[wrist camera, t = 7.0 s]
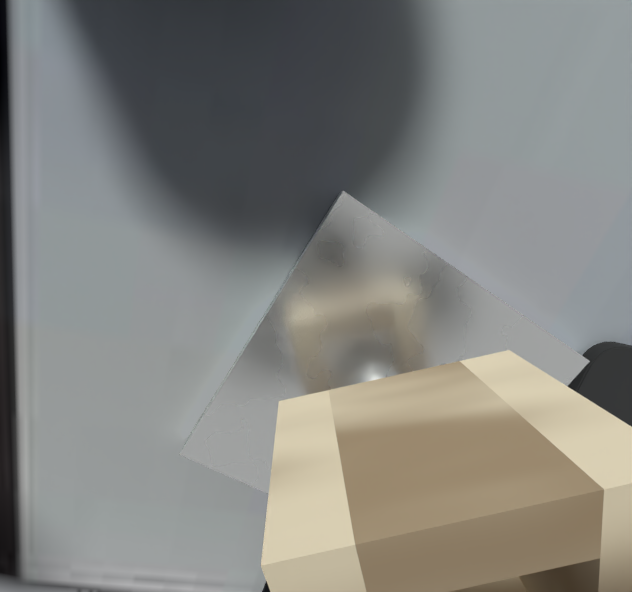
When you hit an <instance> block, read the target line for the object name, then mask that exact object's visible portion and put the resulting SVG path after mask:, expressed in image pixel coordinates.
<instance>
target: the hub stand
mask: <svg viewBox="0 0 632 592" xmlns="http://www.w3.org/2000/svg"><path fill="white" fill-rule="evenodd" d="M507 350H510V351H512V352H513V353H515V354H516V355H518V356H519V357H521V358H523V359H524V360H526V361H527V362H529V363H531V364H532V365H534V366H535V367H537V368H539V369H540V370H542V371H543V372H545V373H547V374H548V375H550V376H551V377H553V378H555V379H556V380H558V381H559V382H561V383H563V384H564V385H566V386H568V385H569V384H570V383H571V382H572V380H573V379H574V378H575V377H576V376H577V375H578V374H579V373H580V372H581V371H582V369H583V368H584V367H585V366H586V365H587V364H588V363H589V362H590V361H589V360H588V359H586V358H585V357H583V356H582V355H580V354H579V353H577V352H576V351H575V350H573V349H572V348H570V347H569V346H567V345H566V344H564V343H563V342H562V341H560V340H559V339H557V338H556V337H554V336H553V335H551V334H550V333H548V332H547V331H546V330H544V329H543V328H541V327H540V326H538V325H537V324H535V323H534V322H533V321H531V320H530V319H528V318H527V317H525V316H524V315H522V314H521V313H520V312H518V311H517V310H515V309H514V308H512V307H511V306H509V305H508V304H507V303H505V302H504V301H502V300H501V299H499V298H498V297H496V296H495V295H494V294H492V293H491V292H489V291H488V290H486V289H485V288H483V287H482V286H480V285H479V284H478V283H476V282H475V281H473V280H472V279H470V278H469V277H467V276H466V275H465V274H463V273H462V272H460V271H459V270H457V269H456V268H454V267H453V266H452V265H450V264H449V263H447V262H446V261H444V260H443V259H441V258H440V257H439V256H437V255H436V254H434V253H433V252H431V251H430V250H428V249H427V248H425V247H424V246H423V245H421V244H420V243H418V242H417V241H415V240H414V239H412V238H411V237H410V236H408V235H407V234H405V233H404V232H402V231H401V230H399V229H398V228H397V227H395V226H394V225H392V224H391V223H389V222H388V221H386V220H385V219H384V218H382V217H381V216H379V215H378V214H376V213H375V212H373V211H372V210H371V209H369V208H368V207H366V206H365V205H363V204H362V203H360V202H359V201H357V200H356V199H355V198H353V197H352V196H350V195H349V194H347V193H346V192H344V191H342V192H340V193H339V195H338V196H337V198H336V199H335V201H334V203H333V204H332V206H331V207H330V209H329V211H328V212H327V214H326V216H325V217H324V219H323V220H322V222H321V224H320V225H319V227H318V228H317V230H316V232H315V233H314V235H313V237H312V238H311V240H310V241H309V243H308V245H307V246H306V248H305V249H304V251H303V253H302V254H301V256H300V258H299V259H298V261H297V262H296V264H295V266H294V267H293V269H292V270H291V272H290V274H289V275H288V277H287V279H286V280H285V282H284V283H283V285H282V287H281V288H280V290H279V291H278V293H277V295H276V296H275V298H274V300H273V301H272V303H271V304H270V306H269V308H268V309H267V311H266V313H265V314H264V316H263V317H262V319H261V321H260V322H259V324H258V325H257V327H256V329H255V330H254V332H253V334H252V335H251V337H250V338H249V340H248V342H247V343H246V345H245V346H244V348H243V350H242V351H241V353H240V355H239V356H238V358H237V359H236V361H235V363H234V364H233V366H232V367H231V369H230V371H229V372H228V374H227V376H226V377H225V379H224V380H223V382H222V384H221V385H220V387H219V388H218V390H217V392H216V393H215V395H214V397H213V398H212V400H211V401H210V403H209V405H208V406H207V408H206V409H205V411H204V413H203V414H202V416H201V418H200V419H199V421H198V422H197V424H196V426H195V427H194V429H193V430H192V432H191V434H190V435H189V437H188V439H187V441H186V443H185V445H184V447H183V449H182V451H181V453H180V455H181V456H183V457H185V458H188V459H190V460H192V461H194V462H197V463H199V464H201V465H203V466H206V467H208V468H210V469H212V470H215V471H217V472H219V473H221V474H224V475H226V476H228V477H230V478H233V479H235V480H237V481H240V482H242V483H244V484H246V485H249V486H251V487H253V488H255V489H258V490H260V491H262V492H264V493H267V494H269V487H270V477H271V468H272V459H273V450H274V441H275V432H276V422H277V413H278V404H279V401H282V400H286V399H291V398H295V397H300V396H304V395H309V394H313V393H318V392H322V391H327V390H331V389H336V388H340V387H345V386H349V385H354V384H358V383H363V382H367V381H372V380H376V379H381V378H385V377H390V376H394V375H399V374H403V373H408V372H412V371H417V370H421V369H426V368H430V367H435V366H439V365H444V364H448V363H453V362H457V361H462V360H466V359H471V358H475V357H480V356H484V355H489V354H493V353H498V352H502V351H507Z"/></svg>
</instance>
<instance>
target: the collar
mask: <svg viewBox="0 0 632 592" xmlns="http://www.w3.org/2000/svg"><path fill="white" fill-rule="evenodd" d="M261 567H262V570H263V573H264V575H265V578H266V581H267V584H268V586H269V589H270V592H632V427H631V426H630V425H628V424H626V423H625V422H623V421H622V420H620V419H618V418H617V417H615V416H614V415H612V414H611V413H609V412H607V411H606V410H604V409H603V408H601V407H599V406H598V405H596V404H595V403H593V402H591V401H590V400H588V399H587V398H585V397H583V396H582V395H580V394H579V393H577V392H575V391H574V390H572V389H571V388H569V387H567V386H566V385H564V384H563V383H561V382H559V381H558V380H556V379H555V378H553V377H551V376H550V375H548V374H547V373H545V372H543V371H542V370H540V369H539V368H537V367H535V366H534V365H532V364H531V363H529V362H527V361H526V360H524V359H523V358H521V357H519V356H518V355H516V354H515V353H513V352H512V351H510V350H507V351H502V352H498V353H493V354H489V355H484V356H480V357H475V358H471V359H466V360H462V361H457V362H453V363H448V364H444V365H439V366H435V367H430V368H426V369H421V370H417V371H412V372H408V373H403V374H399V375H394V376H390V377H385V378H381V379H376V380H372V381H367V382H363V383H358V384H354V385H349V386H345V387H340V388H336V389H331V390H327V391H322V392H318V393H313V394H309V395H304V396H300V397H295V398H291V399H286V400H282V401H279V404H278V413H277V422H276V432H275V441H274V450H273V459H272V468H271V477H270V487H269V496H268V505H267V514H266V523H265V533H264V542H263V551H262V560H261Z"/></svg>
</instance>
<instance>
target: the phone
mask: <svg viewBox="0 0 632 592" xmlns="http://www.w3.org/2000/svg"><path fill="white" fill-rule="evenodd" d="M583 357H585V358H586V359H588V360H589V361H590V362H589V363H588V364H587V365H586V366H585V367H584V368H583V369H582V371H581V372H580V373H579V374H578V375H577V376H576V377H575V378H574V379H573V380H572V382H571V383H570V384H569V385H568V386H567V387H569V388H571V389H572V390H574V391H575V392H577V393H579V394H580V395H582V396H583V397H585V398H587V399H588V400H590V401H591V402H593V403H595V404H596V405H598V406H599V407H601V408H603V409H604V410H606V411H607V412H609V413H611V414H612V415H614V416H615V417H617V418H618V419H620V420H622V421H623V422H625V423H626V424H628V425H630V426H631V427H632V346H631V345H626V344H621V343H616V342H602V343H599V344H596V345H594V346H592V347H591V348H590V349H588V350H587V351H586V352H585V353H584V354H583Z"/></svg>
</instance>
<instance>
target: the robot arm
mask: <svg viewBox="0 0 632 592" xmlns="http://www.w3.org/2000/svg"><path fill="white" fill-rule="evenodd" d="M262 592H270V589H269V586H268V584H267V581H266V583H265V586H264V588H263V591H262Z"/></svg>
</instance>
